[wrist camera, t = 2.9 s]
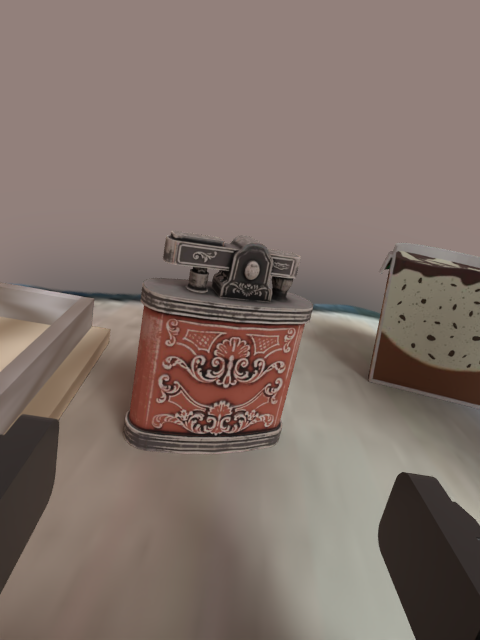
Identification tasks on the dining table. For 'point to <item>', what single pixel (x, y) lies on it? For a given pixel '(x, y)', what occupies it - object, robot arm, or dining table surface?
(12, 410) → the tray
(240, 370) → the lighter
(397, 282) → the food container
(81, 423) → the dining table surface
